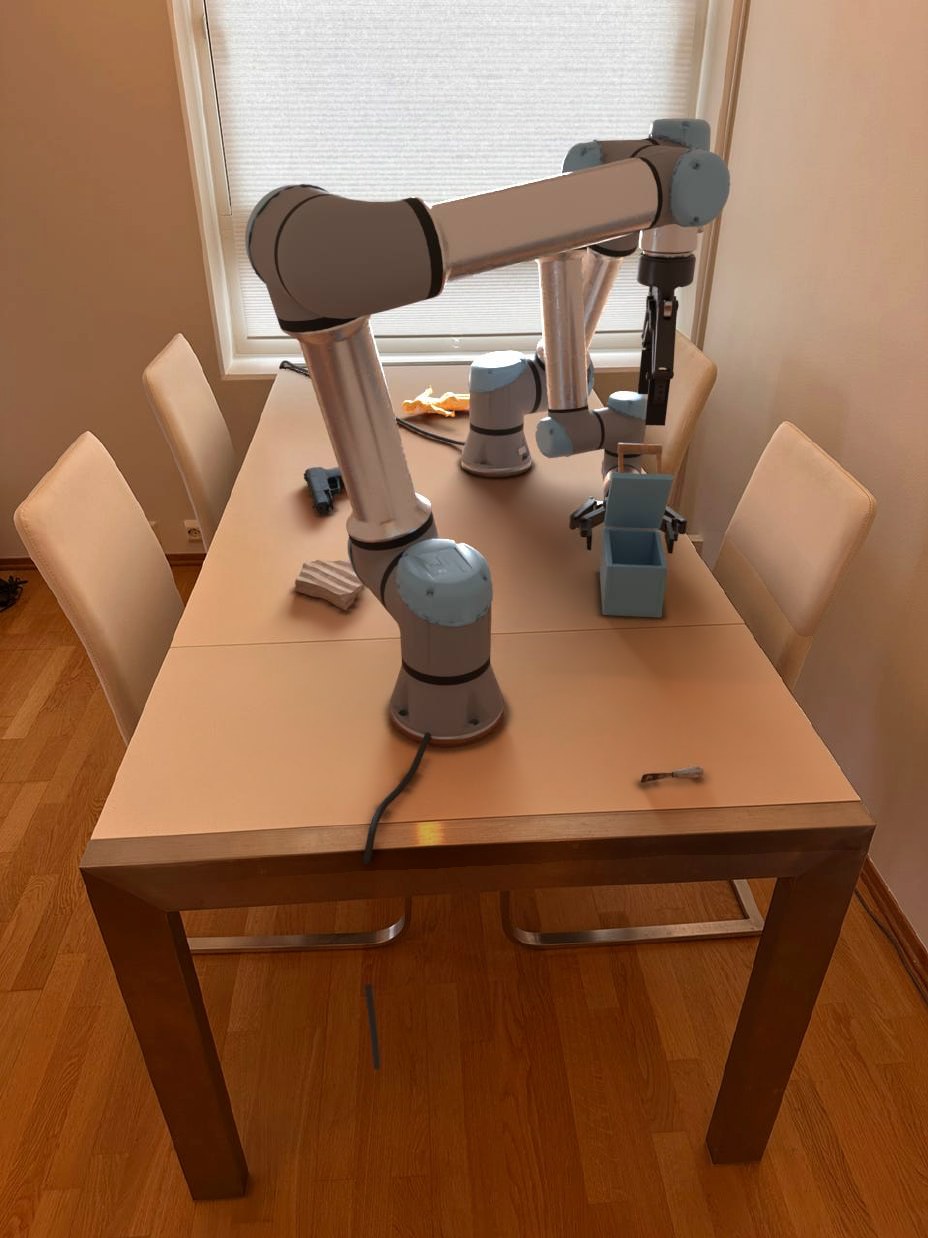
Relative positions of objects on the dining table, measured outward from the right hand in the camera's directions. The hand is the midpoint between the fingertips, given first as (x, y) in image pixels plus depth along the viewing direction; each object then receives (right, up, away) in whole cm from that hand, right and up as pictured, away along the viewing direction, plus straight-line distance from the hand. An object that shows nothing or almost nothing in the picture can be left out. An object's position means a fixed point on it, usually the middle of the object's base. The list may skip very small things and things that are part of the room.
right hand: (630, 544), depth 150 cm
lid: (0, +6, -8) cm, 10 cm away
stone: (-50, -8, -1) cm, 50 cm away
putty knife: (-2, -32, -40) cm, 52 cm away
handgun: (-54, +13, +32) cm, 64 cm away
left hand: (-1, +18, -20) cm, 27 cm away
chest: (-1, -8, -2) cm, 9 cm away
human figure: (-31, +40, +76) cm, 92 cm away
